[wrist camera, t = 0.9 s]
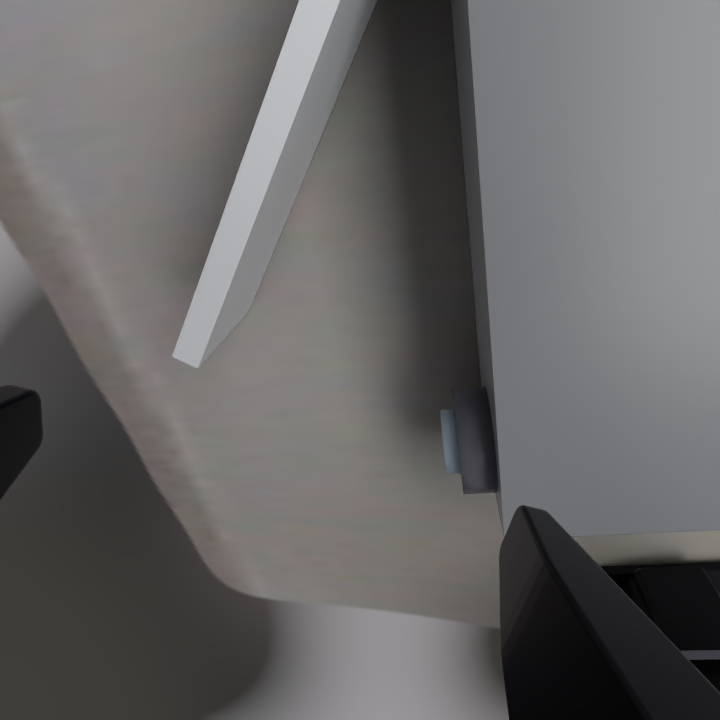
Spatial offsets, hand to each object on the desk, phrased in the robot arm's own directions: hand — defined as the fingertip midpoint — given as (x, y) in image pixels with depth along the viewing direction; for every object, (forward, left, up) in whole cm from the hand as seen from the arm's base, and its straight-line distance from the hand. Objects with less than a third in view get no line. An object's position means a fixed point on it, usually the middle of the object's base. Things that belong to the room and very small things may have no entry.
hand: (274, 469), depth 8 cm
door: (+5, +1, -12) cm, 13 cm away
